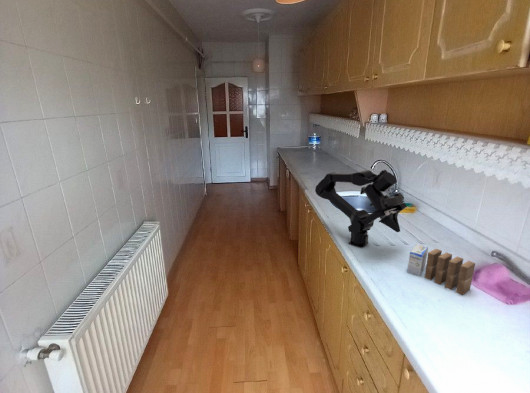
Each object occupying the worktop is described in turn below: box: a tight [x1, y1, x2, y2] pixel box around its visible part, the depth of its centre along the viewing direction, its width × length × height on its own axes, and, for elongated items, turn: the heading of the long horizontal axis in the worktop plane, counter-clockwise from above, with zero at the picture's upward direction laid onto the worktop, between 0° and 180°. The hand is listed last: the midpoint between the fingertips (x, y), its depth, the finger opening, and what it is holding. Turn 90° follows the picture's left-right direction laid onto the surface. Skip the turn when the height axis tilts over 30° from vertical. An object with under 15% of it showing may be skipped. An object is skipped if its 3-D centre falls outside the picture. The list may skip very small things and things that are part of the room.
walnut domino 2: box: [434, 252, 453, 286], centre depth 102 cm, size 2×5×10 cm, turn 123°
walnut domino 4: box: [455, 260, 476, 296], centre depth 96 cm, size 2×5×10 cm, turn 123°
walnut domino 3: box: [444, 256, 464, 291], centre depth 99 cm, size 2×5×10 cm, turn 123°
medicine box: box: [407, 243, 429, 277], centre depth 109 cm, size 8×4×9 cm, turn 141°
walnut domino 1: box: [424, 248, 443, 281], centre depth 104 cm, size 2×5×10 cm, turn 123°
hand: (398, 231), depth 114 cm, fingers closed
